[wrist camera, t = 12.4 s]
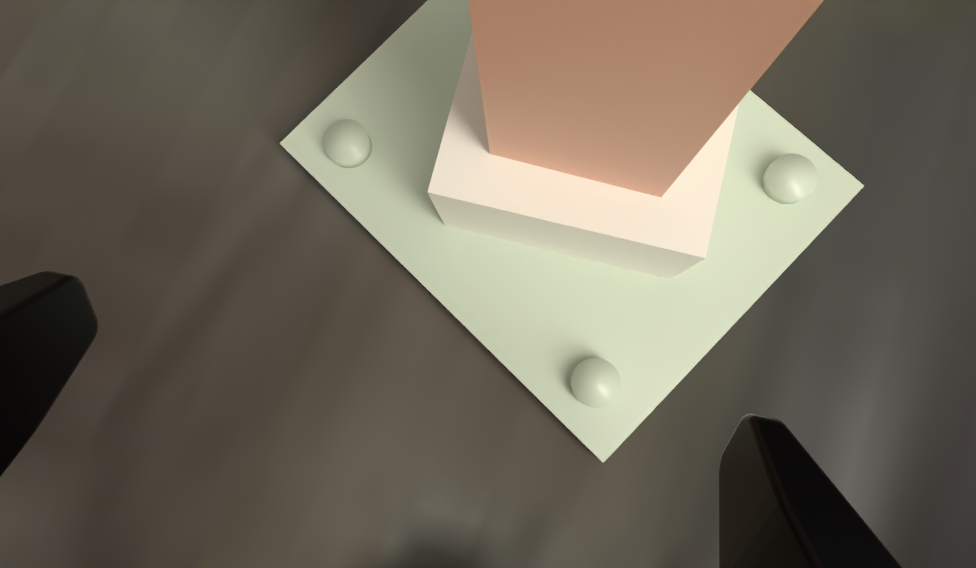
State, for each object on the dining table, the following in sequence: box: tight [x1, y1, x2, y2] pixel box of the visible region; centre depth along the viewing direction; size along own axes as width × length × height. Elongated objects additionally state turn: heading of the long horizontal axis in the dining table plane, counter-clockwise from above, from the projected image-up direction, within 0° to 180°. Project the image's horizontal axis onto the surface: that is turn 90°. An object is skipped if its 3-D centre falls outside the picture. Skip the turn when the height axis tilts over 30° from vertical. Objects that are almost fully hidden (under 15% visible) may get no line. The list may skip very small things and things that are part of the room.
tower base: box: [280, 0, 864, 463], centre depth 20 cm, size 16×13×5 cm
